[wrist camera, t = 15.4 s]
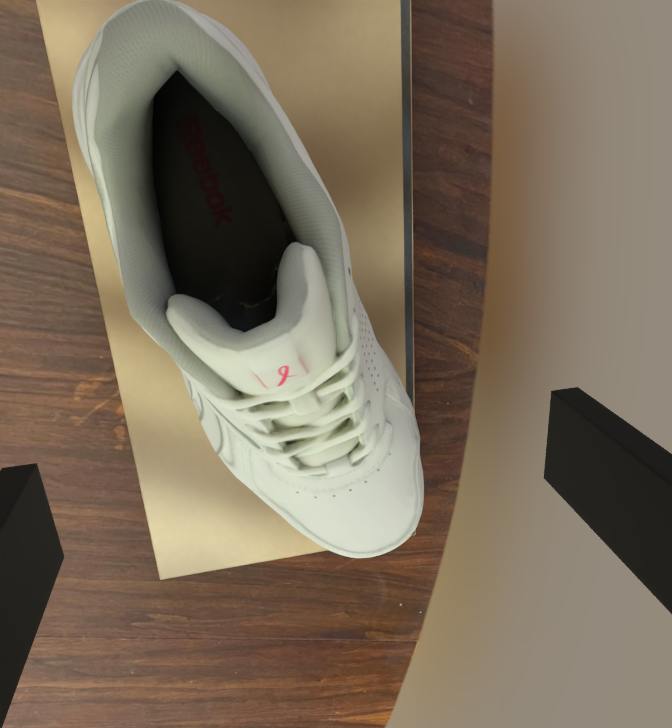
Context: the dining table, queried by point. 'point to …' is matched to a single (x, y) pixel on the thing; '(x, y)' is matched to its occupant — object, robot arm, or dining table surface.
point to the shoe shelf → (351, 199)
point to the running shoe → (246, 276)
